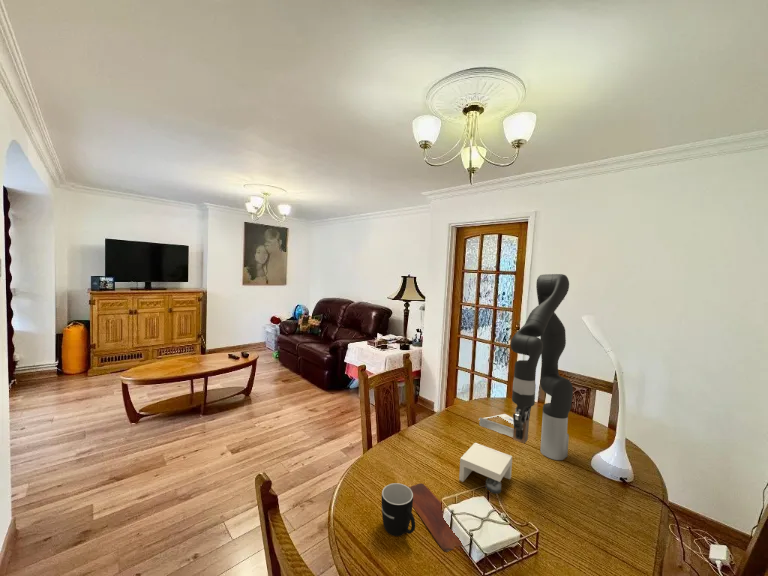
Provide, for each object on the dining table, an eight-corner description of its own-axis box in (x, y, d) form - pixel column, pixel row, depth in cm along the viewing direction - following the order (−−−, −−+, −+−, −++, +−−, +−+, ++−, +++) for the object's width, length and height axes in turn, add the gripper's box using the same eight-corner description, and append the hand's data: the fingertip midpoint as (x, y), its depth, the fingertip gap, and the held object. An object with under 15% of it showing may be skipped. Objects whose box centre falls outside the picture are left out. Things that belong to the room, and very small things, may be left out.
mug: (374, 523, 91) (375, 490, 91) (398, 511, 97) (399, 479, 96) (400, 554, 82) (401, 517, 81) (425, 538, 87) (427, 503, 86)
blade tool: (527, 439, 115) (529, 418, 115) (524, 443, 112) (526, 421, 112) (481, 423, 126) (482, 403, 126) (477, 426, 123) (478, 406, 123)
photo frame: (527, 425, 155) (500, 432, 147) (527, 427, 155) (500, 434, 147) (504, 413, 168) (478, 418, 161) (504, 415, 168) (478, 420, 161)
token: (495, 483, 112) (495, 476, 112) (504, 492, 107) (504, 485, 107) (482, 485, 110) (483, 478, 110) (491, 495, 105) (491, 488, 105)
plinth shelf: (511, 477, 115) (512, 456, 115) (498, 498, 104) (500, 474, 104) (474, 462, 124) (475, 442, 123) (459, 480, 112) (460, 458, 112)
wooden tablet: (475, 545, 86) (475, 539, 86) (444, 556, 82) (444, 550, 82) (425, 483, 111) (425, 479, 111) (399, 490, 107) (399, 485, 107)
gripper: (519, 382, 122) (516, 426, 123) (506, 392, 111) (503, 439, 112) (540, 387, 117) (537, 433, 118) (529, 398, 106) (526, 448, 107)
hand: (520, 436), depth 115 cm, fingers closed on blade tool, 4 cm apart
